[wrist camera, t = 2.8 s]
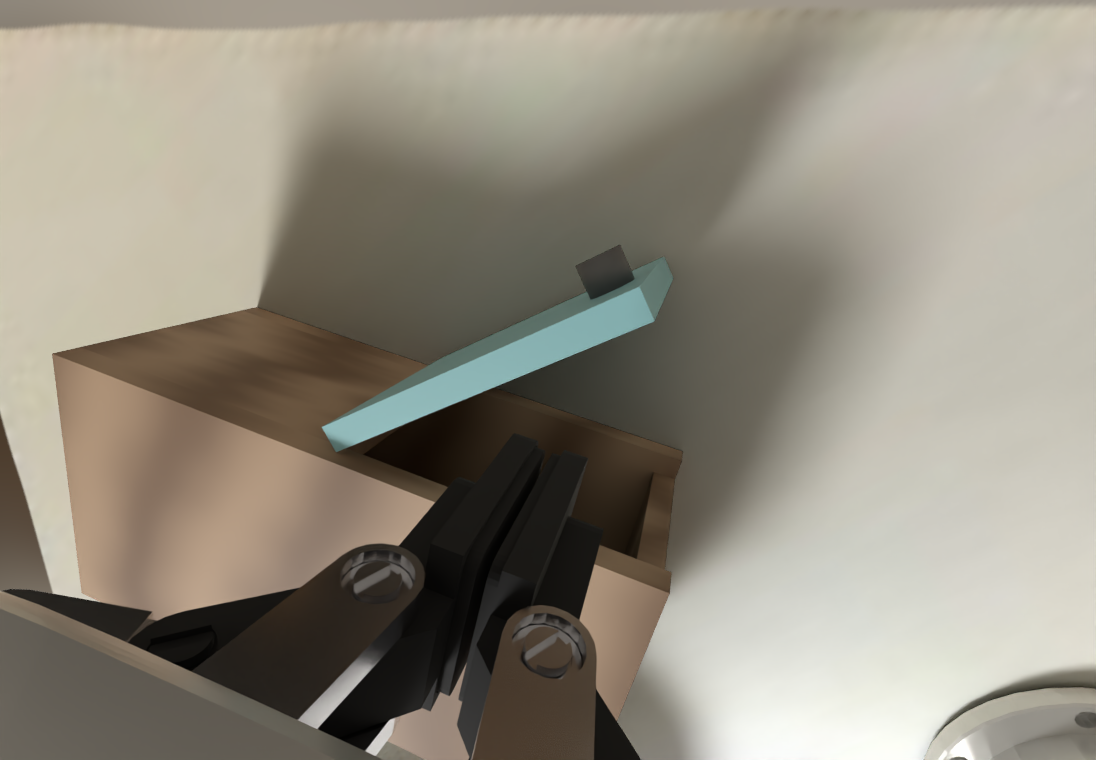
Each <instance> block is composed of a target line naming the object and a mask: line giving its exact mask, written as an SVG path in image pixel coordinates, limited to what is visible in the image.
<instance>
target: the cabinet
mask: <svg viewBox="0 0 1096 760" xmlns="http://www.w3.org/2000/svg"><path fill="white" fill-rule="evenodd" d="M52 356H53V364H54V372H55V380H56V388H57V396H58V405H59V413H60V421H61V429H62V437H63V445H64V453H65V461H66V469H67V477H68V485H69V493H70V502H71V510H72V518H73V526H74V534H75V542H76V550H77V558H78V566H79V574H80V582H81V591H82V593H83V594H85V595H87V596H89V597H91V598H93V599H96V600H98V601H100V602H102V603H108V604H113V605H119V606H124V607H130V608H135V609H141V610H147V611H152V612H153V620H157V621H158V620H160V619H162V618H164V617H166V616H170V615H173V614H176V613H180V612H183V611H187V610H192V609H197V608H202V607H207V606H212V605H217V604H221V603H226V602H231V601H236V600H241V599H246V598H251V597H256V596H261V595H266V594H270V593H275V592H280V591H285V590H290V589H295V588H300V587H302V586H303V585H304V584H305V583H307V582H308V581H309V580H311V579H312V578H313V577H315V576H316V575H317V574H318V573H320V572H321V571H322V570H324V569H325V568H326V567H328V566H329V565H330V564H331V563H333V562H334V561H335V560H337V559H338V558H339V557H341V556H342V555H343V554H345V553H347V552H349V551H350V550H352V549H354V548H357V547H360V546H363V545H367V544H378V543H384V544H391V545H396V546H399V545H400V544H401V542H402V541H403V540H404V539H405V538H406V537H407V535H408V534H409V533H410V532H411V531H412V529H413V528H414V527H415V526H416V525H417V523H418V522H419V521H420V520H421V519H422V518H423V516H424V515H425V514H426V513H427V512H428V510H429V509H430V508H431V507H432V506H433V504H434V503H435V502H436V501H437V500H438V499H439V497H440V496H441V495H442V494H443V493H444V491H445V490H446V489H447V488H448V487H449V485H450V484H451V483H452V482H453V481H454V480H455V479H456V478H457V477H461V478H464V479H467V480H469V481H472V482H475V483H476V482H477V481H478V479H479V478H480V477H481V476H482V474H483V473H484V472H485V470H486V469H487V468H488V466H489V465H490V464H491V462H492V461H493V460H494V458H495V457H496V456H497V454H498V453H499V452H500V450H501V449H502V448H503V446H504V445H505V444H506V443H507V441H508V440H509V439H510V437H511V436H512V435H513V434H514V433H516V434H519V435H522V436H525V437H528V438H531V439H534V440H537V441H538V448H540V449H543V450H545V456H544V460H543V464H542V468H541V472H540V474H541V473H542V471H543V469H544V467H545V465H546V464H547V462H548V460H549V458H550V456H551V454H552V453H554V454H557V455H560V456H561V454H562V452H563V451H564V450H566V451H569V452H572V453H575V454H578V455H581V456H584V457H587V458H588V461H587V465H586V468H585V472H584V475H583V478H582V482H581V485H580V488H579V492H578V495H577V498H576V502H575V505H574V508H573V512H572V515H571V517H572V518H575V519H578V520H581V521H583V522H586V523H589V524H592V525H595V526H597V527H600V528H603V529H604V531H603V535H602V538H601V542H600V546H599V549H598V553H597V557H596V560H595V564H594V568H593V572H592V575H591V579H590V583H589V586H588V590H587V594H586V597H585V601H584V605H583V608H582V612H581V616H580V622H581V623H582V624H583V625H584V626H585V627H586V628H587V629H588V631H589V632H590V634H591V636H592V638H593V640H594V643H595V647H596V654H597V668H596V689H597V691H598V693H599V694H600V696H601V697H602V699H603V700H604V702H605V704H606V705H607V707H608V708H609V710H610V712H611V713H612V715H613V716H614V718H615V719H616V721H617V719H618V717H619V715H620V712H621V710H622V707H623V705H624V703H625V700H626V698H627V695H628V693H629V690H630V688H631V686H632V683H633V681H634V678H635V676H636V673H637V671H638V669H639V666H640V664H641V661H642V659H643V657H644V654H645V652H646V649H647V647H648V644H649V642H650V640H651V637H652V635H653V632H654V630H655V627H656V625H657V623H658V620H659V618H660V615H661V613H662V610H663V608H664V606H665V603H666V601H667V598H668V596H669V594H670V583H671V572H669V571H667V570H665V563H666V554H667V545H668V536H669V527H670V519H671V510H672V501H673V492H674V483H675V478H676V475H677V472H678V470H679V467H680V464H681V462H682V454H683V451H680V450H677V449H674V448H671V447H668V446H665V445H662V444H659V443H656V442H653V441H650V440H647V439H644V438H641V437H638V436H635V435H632V434H629V433H626V432H624V431H621V430H618V429H615V428H612V427H609V426H606V425H603V424H600V423H597V422H594V421H591V420H588V419H585V418H582V417H579V416H576V415H573V414H570V413H567V412H564V411H561V410H559V409H556V408H553V407H550V406H547V405H544V404H541V403H538V402H535V401H532V400H529V399H526V398H523V397H520V396H517V395H514V394H511V393H508V392H505V391H502V390H499V389H496V388H491V389H489V390H486V391H484V392H481V393H479V394H477V395H474V396H472V397H469V398H467V399H464V400H462V401H460V402H457V403H455V404H452V405H450V406H447V407H445V408H442V409H440V410H438V411H435V412H433V413H430V414H428V415H425V416H423V417H421V418H418V419H416V420H413V421H411V422H408V423H406V424H404V425H401V426H399V427H396V428H394V429H391V430H389V431H387V432H384V433H382V434H379V435H377V436H374V437H372V438H370V439H367V440H365V441H362V442H360V443H357V444H355V445H353V446H350V447H348V448H345V449H343V450H340V451H338V452H336V451H335V450H334V448H333V446H332V444H331V443H330V441H329V439H328V437H327V436H326V434H325V432H324V430H323V429H322V427H323V426H324V425H326V424H328V423H330V422H331V421H333V420H335V419H337V418H338V417H340V416H342V415H343V414H345V413H347V412H349V411H350V410H352V409H354V408H356V407H357V406H359V405H361V404H363V403H364V402H366V401H368V400H369V399H371V398H373V397H375V396H376V395H378V394H380V393H382V392H383V391H385V390H387V389H388V388H390V387H392V386H394V385H395V384H397V383H399V382H401V381H402V380H404V379H406V378H408V377H409V376H411V375H413V374H414V373H416V372H418V371H420V370H421V369H423V368H425V367H427V366H428V365H426V364H423V363H420V362H417V361H414V360H411V359H408V358H405V357H402V356H399V355H396V354H393V353H390V352H387V351H384V350H381V349H378V348H375V347H372V346H369V345H366V344H363V343H361V342H358V341H355V340H352V339H349V338H346V337H343V336H340V335H337V334H334V333H331V332H328V331H325V330H322V329H319V328H316V327H313V326H310V325H307V324H304V323H301V322H298V321H296V320H293V319H290V318H287V317H284V316H281V315H278V314H275V313H272V312H269V311H266V310H263V309H260V308H257V307H256V308H251V309H247V310H242V311H238V312H234V313H229V314H225V315H220V316H216V317H212V318H207V319H203V320H198V321H194V322H190V323H185V324H181V325H176V326H172V327H168V328H163V329H159V330H154V331H150V332H145V333H141V334H137V335H132V336H128V337H123V338H119V339H115V340H110V341H106V342H101V343H97V344H93V345H88V346H84V347H79V348H75V349H71V350H66V351H62V352H57V353H53V354H52ZM466 664H467V663H466ZM465 668H466V665H465V667H464V669H463V671H462V673H461V676H460V678H459V680H458V682H457V684H456V686H455V688H454V690H453V692H452V693H451V695H450V696H448V695H445V694H443V693H441V692H440V694H439V696H438V698H437V700H436V702H435V704H434V706H433V708H432V709H431V711H428V710H425V709H423V708H421V709H419V710H416V711H413V712H411V713H408V714H405V715H402V716H400V718H399V723H398V725H397V726H396V728H395V730H394V732H393V734H392V735H391V736H390V738H389V739H388V740H387V741H388V742H390V743H392V744H394V745H396V746H398V747H400V748H402V749H404V750H406V751H408V752H411V753H413V754H415V755H417V756H419V757H421V758H423V759H425V760H468V759H469V755H468V753H467V750H466V748H465V745H464V742H463V740H462V737H461V735H460V732H459V729H458V727H457V721H458V717H459V713H460V709H461V705H462V702H461V701H459V700H458V698H459V693H460V689H461V685H462V681H463V676H464V672H465Z"/></svg>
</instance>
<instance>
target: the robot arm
mask: <svg viewBox="0 0 1096 760" xmlns="http://www.w3.org/2000/svg"><path fill="white" fill-rule="evenodd" d="M544 456H545V450H543V449H540V448H538V441H537V440H534V439H531V438H528V437H525V436H522V435H519V434H516V433H514V434H513V435H512V436H511V437H510V439H509V440H508V441H507V443H506V444H505V445H504V446H503V448H502V449H501V450H500V452H499V453H498V454H497V456H496V457H495V458H494V460H493V461H492V462H491V464H490V465H489V466H488V468H487V469H486V470H485V472H484V473H483V474H482V476H481V477H480V478H479V479H478V481H477V482H476V483H475V482H472V481H469V480H467V479H464V478H461V477H457V478H456V479H455V480H454V481H453V482H452V483H451V484H450V485H449V487H448V488H447V489H446V490H445V491H444V493H443V494H442V495H441V496H440V497H439V499H438V500H437V501H436V502H435V503H434V504H433V506H432V507H431V508H430V509H429V510H428V512H427V513H426V514H425V515H424V516H423V518H422V519H421V520H420V521H419V522H418V523H417V525H416V526H415V527H414V528H413V529H412V531H411V532H410V533H409V534H408V535H407V537H406V538H405V539H404V540H403V541H402V542H401V544H400V545H399V546H396V545H391V544H384V543H378V544H367V545H363V546H360V547H357V548H354V549H352V550H350V551H349V552H347V553H345V554H343V555H342V556H341V557H339V558H338V559H337V560H335V561H334V562H333V563H331V564H330V565H329V566H328V567H326V568H325V569H324V570H322V571H321V572H320V573H318V574H317V575H316V576H315V577H313V578H312V579H311V580H309V581H308V582H307V583H305V584H304V585H303V586H302V587H300V588H295V589H290V590H285V591H280V592H275V593H270V594H266V595H261V596H256V597H251V598H246V599H241V600H236V601H231V602H226V603H221V604H217V605H212V606H207V607H202V608H197V609H192V610H187V611H183V612H180V613H176V614H173V615H170V616H166V617H164V618H162V619H160V620H158V621H157V620H153V612H152V611H147V610H141V609H135V608H130V607H124V606H119V605H113V604H108V603H102V602H96V601H91V600H85V599H80V598H74V597H69V596H63V595H57V594H52V593H46V592H40V591H35V590H27V589H26V590H25V589H8V590H3V591H0V760H383V759H381V758H379V757H377V756H376V755H377V754H378V752H379V751H380V750H381V748H382V747H383V746H384V744H385V743H386V742H387V740H388V739H389V738H390V736H391V735H392V734H393V732H394V730H395V728H396V726H397V725H398V723H399V718H400V716H402V715H405V714H408V713H411V712H413V711H416V710H419V709H421V708H423V709H425V710H428V711H431V709H432V708H433V706H434V704H435V702H436V700H437V698H438V696H439V694H440V692H441V693H443V694H445V695H448V696H450V695H451V693H452V692H453V690H454V688H455V686H456V684H457V682H458V680H459V678H460V676H461V673H462V671H463V669H464V667H465V665H466V668H465V672H464V676H463V681H462V685H461V689H460V693H459V698H458V700H459V701H461V702H462V705H461V709H460V713H459V717H458V721H457V727H458V729H459V732H460V735H461V737H462V740H463V742H464V745H465V748H466V750H467V753H468V755H469V759H468V760H641V759H640V757H639V756H638V754H637V753H636V751H635V750H634V748H633V746H632V745H631V743H630V742H629V740H628V738H627V737H626V735H625V734H624V732H623V731H622V729H621V727H620V726H619V724H618V723H617V721H616V719H615V718H614V716H613V715H612V713H611V712H610V710H609V708H608V707H607V705H606V704H605V702H604V700H603V699H602V697H601V696H600V694H599V693H598V691H597V689H596V668H597V654H596V647H595V643H594V640H593V638H592V636H591V634H590V632H589V631H588V629H587V628H586V627H585V626H584V625H583V624H582V623H581V622H580V616H581V612H582V608H583V605H584V601H585V597H586V594H587V590H588V586H589V583H590V579H591V575H592V572H593V568H594V564H595V560H596V557H597V553H598V549H599V546H600V542H601V538H602V535H603V531H604V529H603V528H600V527H597V526H595V525H592V524H589V523H586V522H583V521H581V520H578V519H575V518H572V517H571V515H572V512H573V508H574V505H575V502H576V498H577V495H578V492H579V488H580V485H581V482H582V478H583V475H584V472H585V468H586V465H587V461H588V458H587V457H584V456H581V455H578V454H575V453H572V452H569V451H566V450H564V451H563V452H562V454H561V456H560V455H557V454H554V453H552V454H551V456H550V458H549V460H548V462H547V464H546V465H545V467H544V469H543V471H542V473H541V474H540V472H541V468H542V464H543V460H544ZM466 663H467V664H466ZM923 760H1096V689H1093V688H1083V687H1074V688H1045V689H1038V690H1031V691H1025V692H1018V693H1014V694H1010V695H1007V696H1003V697H1000V698H997V699H993V700H990V701H987V702H985V703H983V704H981V705H979V706H977V707H975V708H973V709H971V710H969V711H966V712H964V713H963V714H962V715H960V716H959V717H958V718H956V719H955V720H954V721H952V722H951V723H950V724H948V725H947V726H945V727H944V729H943V730H942V731H941V732H940V733H939V734H938V736H937V737H936V738H935V739H934V740H933V741H932V743H931V745H930V747H929V749H928V751H927V753H926V755H925V757H924V759H923Z"/></svg>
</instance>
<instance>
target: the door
mask: <svg viewBox="0 0 1096 760" xmlns="http://www.w3.org/2000/svg"><path fill="white" fill-rule="evenodd" d="M576 269H577V271H578V273H579V275H580V277H581V280H582V282H583V284H584V286H585V289H586V291H587V292H585V293H583V294H580V295H578V296H576V297H574V298H572V299H570V300H567V301H565V302H563V303H561V304H559V305H556V306H554V307H552V308H550V309H548V310H545V311H543V312H541V313H539V314H537V315H534V316H532V317H530V318H528V319H526V320H524V321H521V322H519V323H517V324H515V325H513V326H510V327H508V328H506V329H504V330H502V331H499V332H497V333H495V334H493V335H491V336H488V337H486V338H484V339H482V340H480V341H477V342H475V343H473V344H471V345H469V346H467V347H464V348H462V349H460V350H458V351H456V352H453V353H451V354H449V355H447V356H445V357H442V358H440V359H439V360H437V361H435V362H433V363H432V364H430V365H428V366H427V367H425V368H423V369H421V370H420V371H418V372H416V373H414V374H413V375H411V376H409V377H408V378H406V379H404V380H402V381H401V382H399V383H397V384H395V385H394V386H392V387H390V388H388V389H387V390H385V391H383V392H382V393H380V394H378V395H376V396H375V397H373V398H371V399H369V400H368V401H366V402H364V403H363V404H361V405H359V406H357V407H356V408H354V409H352V410H350V411H349V412H347V413H345V414H343V415H342V416H340V417H338V418H337V419H335V420H333V421H331V422H330V423H328V424H326V425H324V426H323V427H322V429H323V430H324V432H325V434H326V436H327V437H328V439H329V441H330V443H331V444H332V446H333V448H334V450H335V451H336V452H338V451H340V450H343V449H345V448H348V447H350V446H353V445H355V444H357V443H360V442H362V441H365V440H367V439H370V438H372V437H374V436H377V435H379V434H382V433H384V432H387V431H389V430H391V429H394V428H396V427H399V426H401V425H404V424H406V423H408V422H411V421H413V420H416V419H418V418H421V417H423V416H425V415H428V414H430V413H433V412H435V411H438V410H440V409H442V408H445V407H447V406H450V405H452V404H455V403H457V402H460V401H462V400H464V399H467V398H469V397H472V396H474V395H477V394H479V393H481V392H484V391H486V390H489V389H491V388H494V387H496V386H498V385H501V384H503V383H506V382H508V381H511V380H513V379H515V378H518V377H520V376H523V375H525V374H528V373H530V372H532V371H535V370H537V369H540V368H542V367H545V366H547V365H549V364H552V363H554V362H557V361H559V360H562V359H564V358H567V357H569V356H571V355H574V354H576V353H579V352H581V351H584V350H586V349H588V348H591V347H593V346H596V345H598V344H601V343H603V342H605V341H608V340H610V339H613V338H615V337H618V336H620V335H622V334H625V333H627V332H630V331H632V330H635V329H637V328H639V327H642V326H644V325H647V324H649V323H652V322H654V321H655V319H656V317H657V315H658V312H659V310H660V308H661V305H662V303H663V301H664V299H665V296H666V294H667V292H668V290H669V287H670V285H671V283H672V280H673V276H672V274H671V272H670V269H669V267H668V264H667V262H666V260H665V257H662V258H659V259H657V260H655V261H653V262H651V263H648V264H646V265H644V266H642V267H640V268H637V269H635V270H633V271H631V269H630V266H629V264H628V262H627V259H626V257H625V255H624V252H623V250H622V248H621V246H620V245H618V246H616V247H614V248H612V249H610V250H608V251H606V252H604V253H602V254H600V255H597V256H595V257H593V258H591V259H589V260H587V261H585V262H583V263H581V264H579V265H577V266H576Z"/></svg>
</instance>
